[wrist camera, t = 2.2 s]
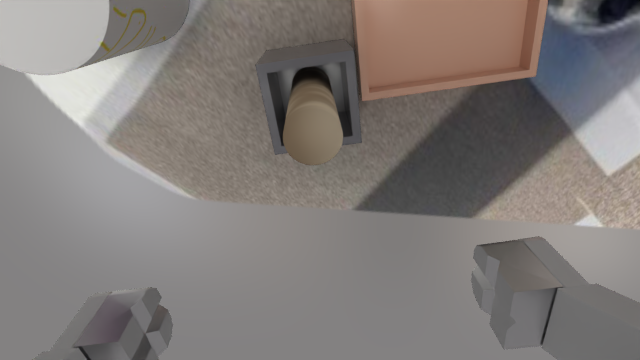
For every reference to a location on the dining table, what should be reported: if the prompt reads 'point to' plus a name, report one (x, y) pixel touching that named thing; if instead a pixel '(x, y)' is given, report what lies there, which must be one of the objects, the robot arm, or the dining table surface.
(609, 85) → the dining table surface
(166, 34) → the grey patterned cylinder
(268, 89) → the holder
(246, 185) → the dining table surface
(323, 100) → the dowel
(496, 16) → the tray
